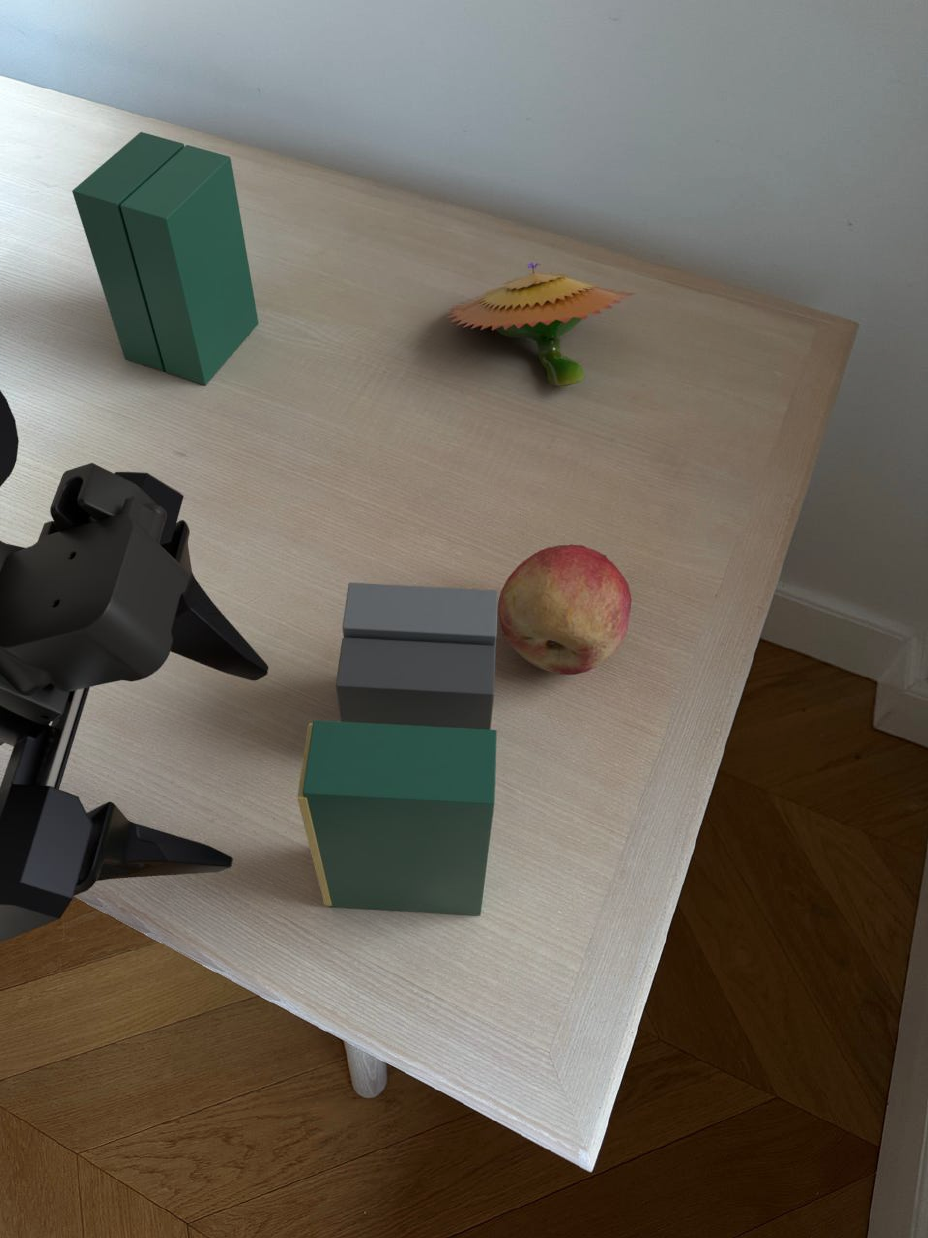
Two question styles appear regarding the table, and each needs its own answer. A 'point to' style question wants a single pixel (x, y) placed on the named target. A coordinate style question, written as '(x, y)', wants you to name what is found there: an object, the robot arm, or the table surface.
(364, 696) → the grey grooved block
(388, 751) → the green book
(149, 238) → the green grooved box
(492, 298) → the flower
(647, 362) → the table surface
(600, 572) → the fruit
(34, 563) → the robot arm
